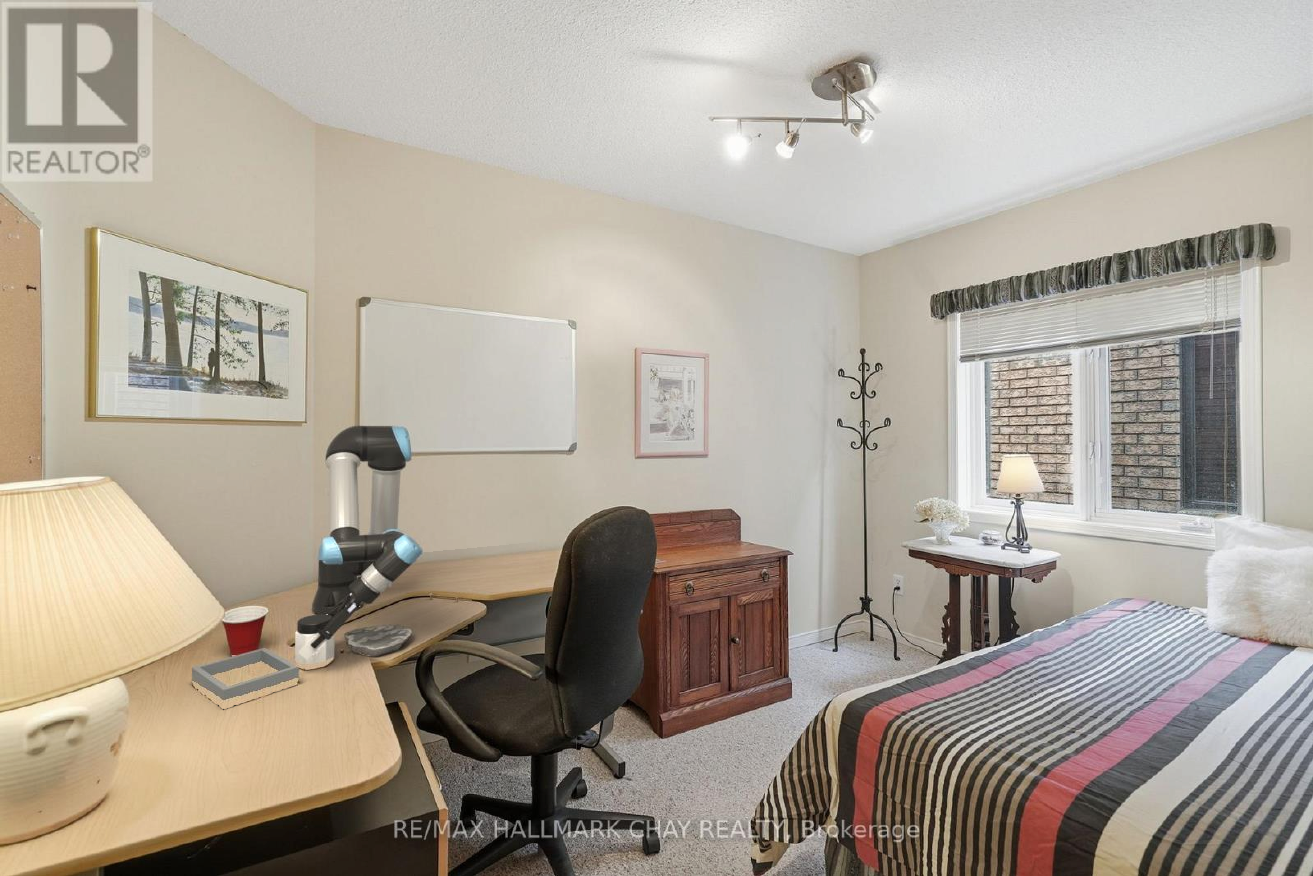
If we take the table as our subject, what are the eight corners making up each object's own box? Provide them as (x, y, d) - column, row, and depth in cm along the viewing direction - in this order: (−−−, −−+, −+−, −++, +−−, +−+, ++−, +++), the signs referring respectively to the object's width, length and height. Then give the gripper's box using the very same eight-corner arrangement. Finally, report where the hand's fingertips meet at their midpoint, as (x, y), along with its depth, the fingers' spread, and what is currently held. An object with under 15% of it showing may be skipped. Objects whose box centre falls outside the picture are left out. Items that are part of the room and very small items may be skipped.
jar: (295, 673, 149) (296, 627, 148) (294, 661, 156) (294, 617, 155) (335, 666, 154) (336, 621, 153) (332, 655, 161) (333, 612, 160)
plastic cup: (215, 666, 151) (215, 621, 151) (223, 651, 161) (223, 608, 161) (265, 659, 156) (265, 615, 156) (270, 645, 166) (270, 603, 166)
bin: (191, 686, 141) (191, 667, 140) (264, 664, 153) (264, 647, 153) (223, 710, 130) (223, 690, 130) (298, 685, 143) (298, 666, 142)
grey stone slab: (425, 644, 170) (426, 634, 170) (369, 664, 156) (369, 653, 156) (387, 629, 181) (387, 620, 181) (331, 646, 167) (332, 636, 167)
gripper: (378, 607, 149) (310, 673, 143) (383, 581, 172) (325, 637, 166) (355, 588, 146) (285, 655, 141) (363, 564, 169) (303, 621, 164)
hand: (306, 645), depth 154 cm, fingers open, 13 cm apart
